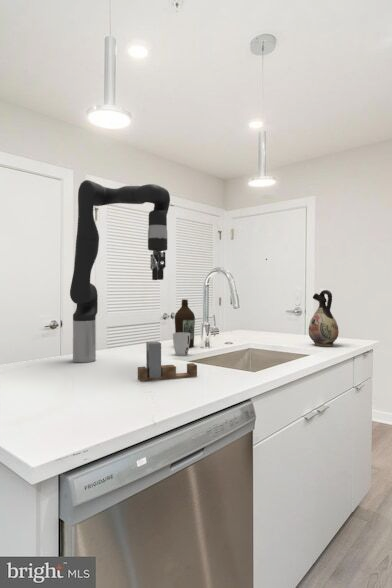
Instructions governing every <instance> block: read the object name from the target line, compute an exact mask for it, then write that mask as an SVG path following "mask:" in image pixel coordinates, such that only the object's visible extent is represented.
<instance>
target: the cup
mask: <svg viewBox="0 0 392 588" xmlns="http://www.w3.org/2000/svg"><path fill="white" fill-rule="evenodd" d="M172 341H173V342H172V343H173V344H172V345H173V349H174V352H175V356H178V357H179V356H180V357H181V356H183V357H184V356H188V353H189V349H190V348H189V344H190V333H186V332H178V333H175V332H172Z"/></svg>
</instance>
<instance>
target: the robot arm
mask: <svg viewBox="0 0 392 588" xmlns="http://www.w3.org/2000/svg"><path fill="white" fill-rule="evenodd" d="M77 192H78V193H77V206H78V207H77V231H76V237H75V239H76V240H75V252H74V264H73V274H72V279H71V283H70V289H69V296H70V299H71V301H72V303H74V304H76V309H75V311H74V313H72V362H73V363H92V362H95V361H96V360H97V359H96V358H97V354H96V349H97V348H96V347H97V346H96V345H97V343H96V336H97V335H96V331H97V330H96V329H97V328H96V323H97V322H96V318H97V317H96V316H97V313H98V296H99V295H98V290H97V288H96V286H95V285H94V284H92V282H91V275H92V269H93V266H94V264H95V262H96V259H97V256H98V253H99V247H100V246H99V244H100V234H99V231H98V227H97V224H96V221H95V218H94V208H95V207H102V206H106V205H107V206H109V205H114V204H128V205H143V204H145V203H150V204H153V205H154V206H153V210H151V211H149V212H148V228H147V229H148V230H147V250H148V251H152V253H151V254H150V270H151V271H152V272H151V279H152V281H158V280H161V281H162V280H164V270H165V268H166V251H168V221H167V220H168V219H167V216H168V212H169V207H170V203H171V202H170V201H171V195H170V193H169V191H168V190H167V189H166V188H164V187H162V186H161V185H158V184H153V183H150V184H149V183H148V184H144V185H124V186H122V187H118V188H110V187H106V186H103V185H102V184H99V183H97V182H95V181H92V180H91V179H90V180H89V179H86V180H83V181H82V182H81V183H80V185H79V187H78V191H77Z"/></svg>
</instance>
